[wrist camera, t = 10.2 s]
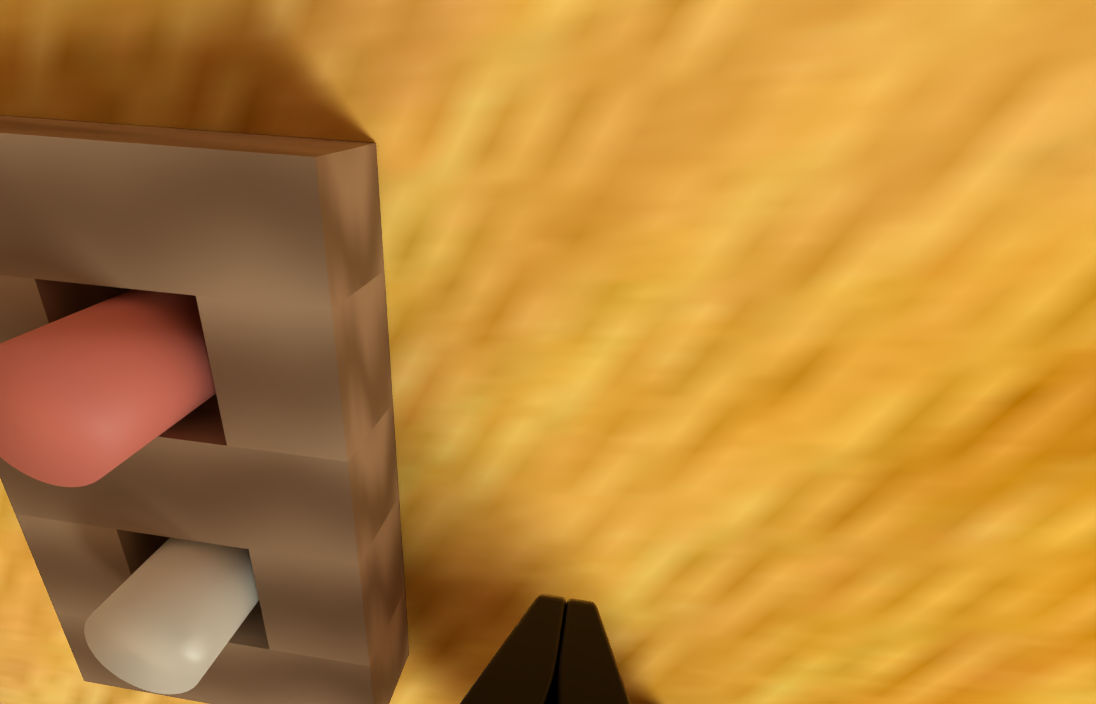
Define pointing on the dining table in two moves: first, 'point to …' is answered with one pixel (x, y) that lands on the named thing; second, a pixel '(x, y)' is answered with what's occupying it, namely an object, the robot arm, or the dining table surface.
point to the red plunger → (100, 385)
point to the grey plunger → (173, 615)
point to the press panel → (226, 389)
